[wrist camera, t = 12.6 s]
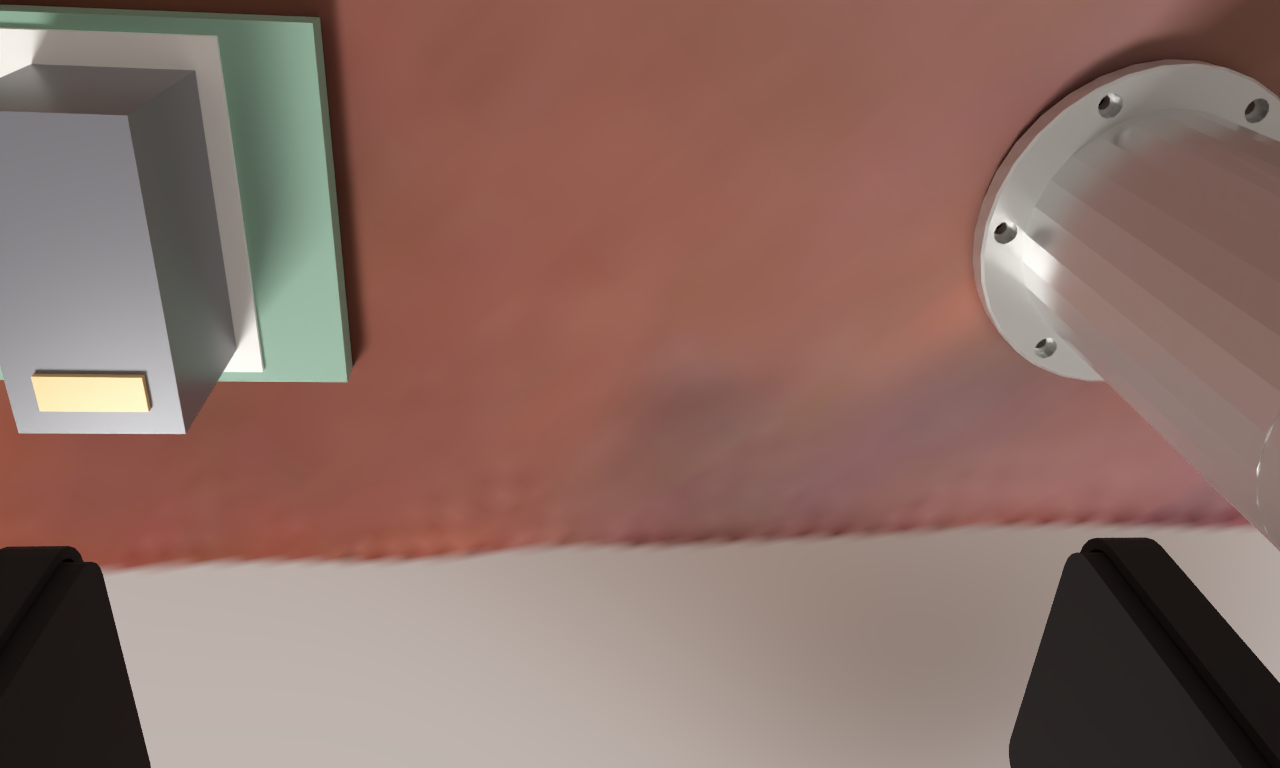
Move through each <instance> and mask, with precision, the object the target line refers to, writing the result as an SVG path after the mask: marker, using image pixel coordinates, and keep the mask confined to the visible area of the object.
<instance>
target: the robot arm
mask: <svg viewBox="0 0 1280 768" xmlns="http://www.w3.org/2000/svg"><path fill="white" fill-rule="evenodd" d="M1102 98H1104V101H1103V103H1102V104H1101V105H1100V106H1098V105H1099V103H1100V101H1101V99H1102ZM1001 223H1002V225H1001V227H1000V228H999V229H998V230H996V228H997V226H999V225H1000V224H1001ZM973 268H974V276H975V283H976V289H977V292H978V294H979V297H980V300H981V302H982V305H983V308H984V310H985V313H986V314H987V316H988V317H989V319H990V320H991V322H992V323H993V325H994V326H995V328H996V329H997V331H998V332H999V334H1000V335H1001V336H1002V337H1003V338H1004V339H1005V340H1006V341H1007V342H1008V343H1009V344H1010V345H1011V346H1012V347H1013V348H1014V349H1015V351H1016V352H1018V353H1019V354H1020V355H1022V356H1023V357H1024V358H1026V359H1027V360H1028V361H1030V362H1031V363H1033V364H1034V365H1036V366H1038V367H1040V368H1043V369H1045V370H1047V371H1050V372H1052V373H1055V374H1057V375H1059V376H1063V377H1069V378H1074V379H1079V380H1084V381H1106V382H1107V383H1108V384H1109V385H1110V386H1111V387H1112V388H1113V389H1114V390H1115V391H1116V392H1117V393H1118V394H1119V395H1120V396H1121V397H1122V398H1123V399H1124V400H1125V401H1126V402H1127V403H1128V404H1129V405H1130V406H1131V407H1132V408H1133V409H1134V410H1135V411H1136V412H1138V413H1139V414H1140V415H1141V416H1142V417H1143V418H1144V419H1145V420H1146V421H1147V422H1148V423H1149V424H1150V425H1151V426H1152V427H1153V428H1154V429H1155V430H1156V431H1157V432H1158V433H1159V434H1160V435H1161V436H1162V437H1163V438H1164V439H1165V440H1166V441H1167V442H1168V443H1169V444H1170V445H1171V446H1172V447H1173V448H1174V449H1175V450H1176V451H1177V452H1178V453H1180V454H1181V455H1182V456H1183V457H1184V458H1185V459H1186V460H1187V461H1188V462H1189V463H1190V464H1191V465H1192V466H1193V467H1194V468H1195V469H1196V470H1197V471H1198V472H1199V473H1200V474H1201V475H1202V476H1203V477H1204V478H1205V479H1206V480H1207V481H1208V482H1209V483H1210V484H1211V485H1212V486H1213V487H1214V488H1215V489H1216V490H1217V491H1218V492H1219V493H1220V494H1222V495H1223V496H1224V497H1225V498H1226V499H1227V500H1228V501H1229V502H1230V503H1231V504H1232V505H1233V506H1234V507H1235V508H1236V509H1237V510H1238V511H1239V512H1240V513H1241V514H1242V515H1243V516H1244V517H1245V518H1246V519H1247V520H1248V521H1249V522H1250V523H1251V524H1252V525H1253V526H1254V527H1255V528H1256V529H1257V530H1258V531H1259V532H1260V533H1261V534H1263V535H1264V536H1265V537H1266V538H1267V539H1268V540H1269V541H1270V542H1271V543H1272V544H1273V545H1274V546H1275V547H1276V548H1277V549H1278V550H1279V551H1280V98H1279V97H1278V96H1277V95H1276V94H1274V93H1273V92H1272V91H1270V90H1269V89H1268V88H1266V87H1265V86H1263V85H1262V84H1261V83H1259V82H1258V81H1257V80H1255V79H1253V78H1251V77H1249V76H1246V75H1244V74H1241V73H1239V72H1236V71H1234V70H1231V69H1229V68H1226V67H1222V66H1218V65H1214V64H1211V63H1207V62H1203V61H1199V60H1176V59H1165V60H1159V61H1153V62H1147V63H1140V64H1134V65H1131V66H1128V67H1126V68H1123V69H1120V70H1117V71H1114V72H1111V73H1109V74H1106V75H1103V76H1100V77H1099V78H1097V79H1095V80H1093V81H1091V82H1090V83H1088V84H1086V85H1084V86H1082V87H1081V88H1079V89H1077V90H1075V91H1073V92H1072V93H1070V94H1068V95H1067V96H1066V97H1065V98H1063V99H1062V100H1061V101H1059V102H1058V103H1057V104H1056V105H1054V106H1053V107H1052V108H1050V109H1049V110H1048V111H1047V112H1045V113H1044V114H1043V115H1042V116H1040V117H1039V118H1038V120H1037V121H1036V122H1035V123H1034V124H1033V125H1032V126H1031V127H1030V128H1029V129H1028V130H1027V131H1026V132H1025V133H1024V135H1023V136H1022V137H1021V138H1020V139H1019V140H1018V141H1017V142H1016V143H1015V145H1014V146H1013V148H1012V149H1011V151H1010V152H1009V154H1008V155H1007V157H1006V158H1005V160H1004V161H1003V162H1002V164H1001V165H1000V167H999V168H998V170H997V171H996V174H995V176H994V178H993V180H992V182H991V184H990V187H989V189H988V191H987V193H986V195H985V197H984V200H983V202H982V206H981V209H980V213H979V217H978V221H977V224H976V228H975V233H974V247H973ZM1009 759H1010V765H1011V768H1280V683H1279V682H1278V681H1277V679H1276V678H1275V677H1274V676H1273V675H1272V674H1271V672H1270V671H1269V670H1268V669H1267V668H1266V667H1265V666H1264V665H1263V663H1262V662H1261V661H1260V660H1259V659H1258V658H1257V656H1256V655H1255V654H1254V653H1253V652H1252V651H1251V649H1250V648H1249V647H1248V646H1247V645H1246V644H1245V642H1243V640H1242V639H1241V638H1240V637H1239V635H1238V634H1237V633H1236V632H1235V631H1234V630H1233V629H1232V627H1231V626H1230V625H1229V624H1228V623H1227V622H1226V620H1225V619H1224V618H1223V617H1222V616H1221V615H1220V614H1219V612H1217V610H1216V609H1215V608H1214V607H1213V606H1212V604H1211V603H1210V602H1209V601H1208V600H1207V599H1206V597H1205V596H1204V595H1203V594H1202V593H1201V592H1200V591H1199V589H1198V588H1197V587H1196V586H1195V585H1194V583H1193V582H1192V581H1191V580H1190V579H1189V578H1188V577H1187V575H1186V574H1185V573H1184V572H1183V571H1182V570H1181V568H1180V567H1179V566H1178V565H1177V564H1176V563H1175V562H1174V560H1173V559H1172V558H1171V557H1170V556H1169V555H1168V554H1167V552H1166V551H1165V550H1164V549H1163V548H1162V547H1161V546H1160V545H1159V544H1158V543H1157V542H1156V541H1154V540H1152V539H1149V538H1094V539H1091V540H1089V541H1088V542H1087V543H1086V544H1085V545H1084V546H1083V548H1082V550H1081V552H1080V553H1074V554H1072V555H1071V556H1070V557H1069V558H1068V559H1067V561H1066V563H1065V566H1064V569H1063V572H1062V576H1061V579H1060V582H1059V585H1058V588H1057V592H1056V595H1055V598H1054V601H1053V604H1052V607H1051V611H1050V614H1049V617H1048V620H1047V624H1046V627H1045V630H1044V633H1043V636H1042V640H1041V643H1040V646H1039V649H1038V652H1037V656H1036V659H1035V662H1034V665H1033V668H1032V672H1031V675H1030V678H1029V681H1028V684H1027V688H1026V691H1025V694H1024V697H1023V701H1022V704H1021V707H1020V710H1019V713H1018V716H1017V720H1016V723H1015V726H1014V730H1013V733H1012V736H1011V739H1010V744H1009ZM0 768H151V766H150V761H149V757H148V753H147V749H146V745H145V741H144V737H143V733H142V729H141V725H140V721H139V717H138V713H137V709H136V705H135V701H134V697H133V693H132V689H131V685H130V681H129V677H128V673H127V669H126V665H125V661H124V657H123V653H122V650H121V646H120V641H119V637H118V633H117V629H116V625H115V622H114V618H113V613H112V610H111V605H110V602H109V598H108V594H107V590H106V586H105V582H104V578H103V574H102V571H101V569H100V567H99V566H98V565H97V563H94V562H83V560H82V557H81V555H80V553H79V552H78V551H77V550H76V549H75V548H73V547H70V546H39V547H5V548H3V549H0Z"/></svg>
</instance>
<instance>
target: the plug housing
mask: <svg viewBox="0 0 1280 768" xmlns="http://www.w3.org/2000/svg"><path fill="white" fill-rule="evenodd" d="M236 350H237V348H236V341H235V334H234V328H233V321H232V314H231V307H230V301H229V294H228V287H227V280H226V274H225V267H224V260H223V254H222V247H221V240H220V233H219V227H218V220H217V213H216V206H215V200H214V193H213V186H212V180H211V173H210V166H209V159H208V153H207V146H206V139H205V133H204V126H203V119H202V112H201V106H200V99H199V92H198V85H197V79H196V72H195V70H174V69H148V68H121V67H95V66H69V65H42V64H30V65H28V66H26V67H23V68H21V69H19V70H17V71H14V72H12V73H10V74H8V75H5V76H3V77H1V78H0V367H1V371H2V374H3V378H4V382H5V385H6V389H7V392H8V396H9V400H10V403H11V407H12V411H13V414H14V418H15V422H16V425H17V429H18V433H90V434H186V433H187V431H188V429H189V428H190V426H191V424H192V423H193V421H194V419H195V418H196V416H197V414H198V413H199V411H200V409H201V408H202V406H203V404H204V403H205V401H206V400H207V398H208V396H209V395H210V393H211V391H212V390H213V388H214V386H215V385H216V383H217V381H218V380H219V378H220V376H221V375H222V373H223V371H224V370H225V368H226V367H227V365H228V363H229V362H230V360H231V358H232V357H233V355H234V353H235V352H236Z"/></svg>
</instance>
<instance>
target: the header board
mask: <svg viewBox="0 0 1280 768" xmlns="http://www.w3.org/2000/svg"><path fill="white" fill-rule="evenodd" d="M30 64H42V65H69V66H95V67H121V68H148V69H174V70H195V72H196V79H197V85H198V92H199V99H200V106H201V112H202V119H203V126H204V133H205V139H206V146H207V153H208V159H209V166H210V173H211V180H212V186H213V193H214V200H215V206H216V213H217V220H218V227H219V233H220V240H221V247H222V254H223V260H224V267H225V274H226V280H227V287H228V294H229V301H230V307H231V314H232V321H233V328H234V334H235V341H236V348H237V350H236V352H235V353H234V355H233V357H232V358H231V360H230V362H229V363H228V365H227V367H226V368H225V370H224V371H223V373H222V375H221V376H220V378H219V380H218V381H253V382H348V379H349V376H350V374H351V371H352V368H353V365H352V355H351V344H350V333H349V323H348V312H347V301H346V290H345V280H344V269H343V258H342V248H341V237H340V226H339V215H338V205H337V194H336V183H335V173H334V162H333V151H332V140H331V130H330V119H329V108H328V98H327V87H326V76H325V65H324V55H323V44H322V33H321V23H320V17H304V16H279V15H254V14H229V13H204V12H179V11H154V10H129V9H104V8H79V7H54V6H29V5H4V4H0V78H1V77H3V76H5V75H8V74H10V73H12V72H14V71H17V70H19V69H21V68H23V67H26V66H28V65H30ZM0 380H4V378H3V374H2V371H1V367H0Z"/></svg>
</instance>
